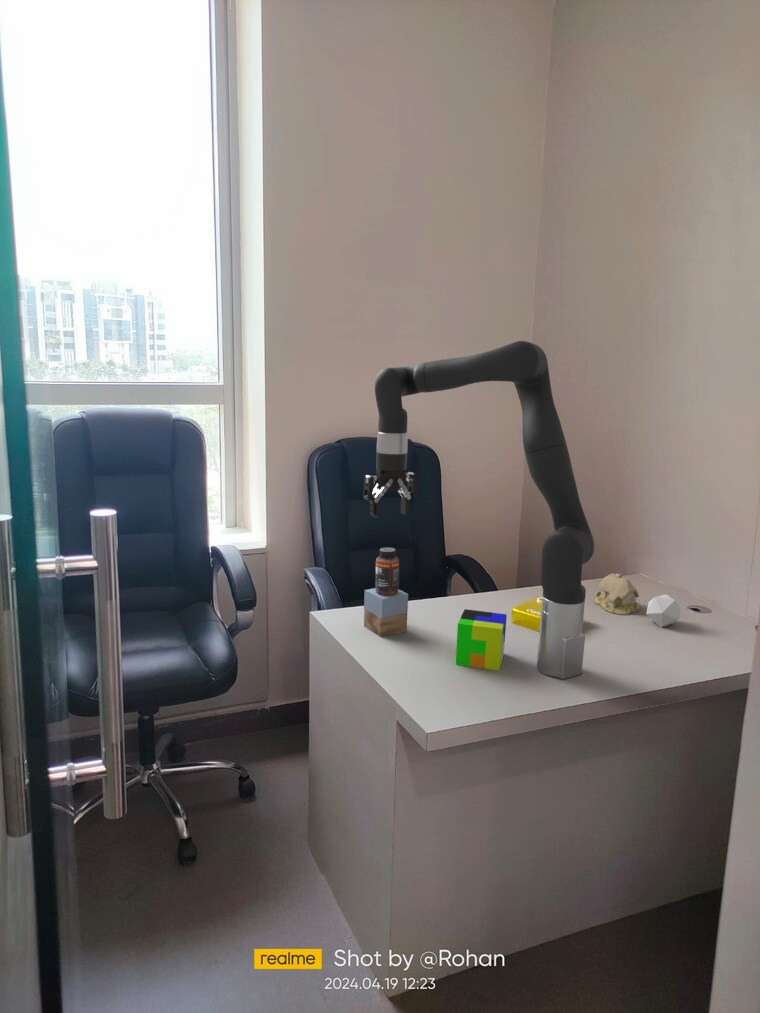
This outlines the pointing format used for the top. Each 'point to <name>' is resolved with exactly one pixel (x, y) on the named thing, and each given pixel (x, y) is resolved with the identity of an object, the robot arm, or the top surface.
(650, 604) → the die
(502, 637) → the puzzle toy
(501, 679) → the top surface
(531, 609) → the element tile
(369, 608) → the tower top block
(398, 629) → the tower base block
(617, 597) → the ceramic model
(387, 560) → the supplement bottle
